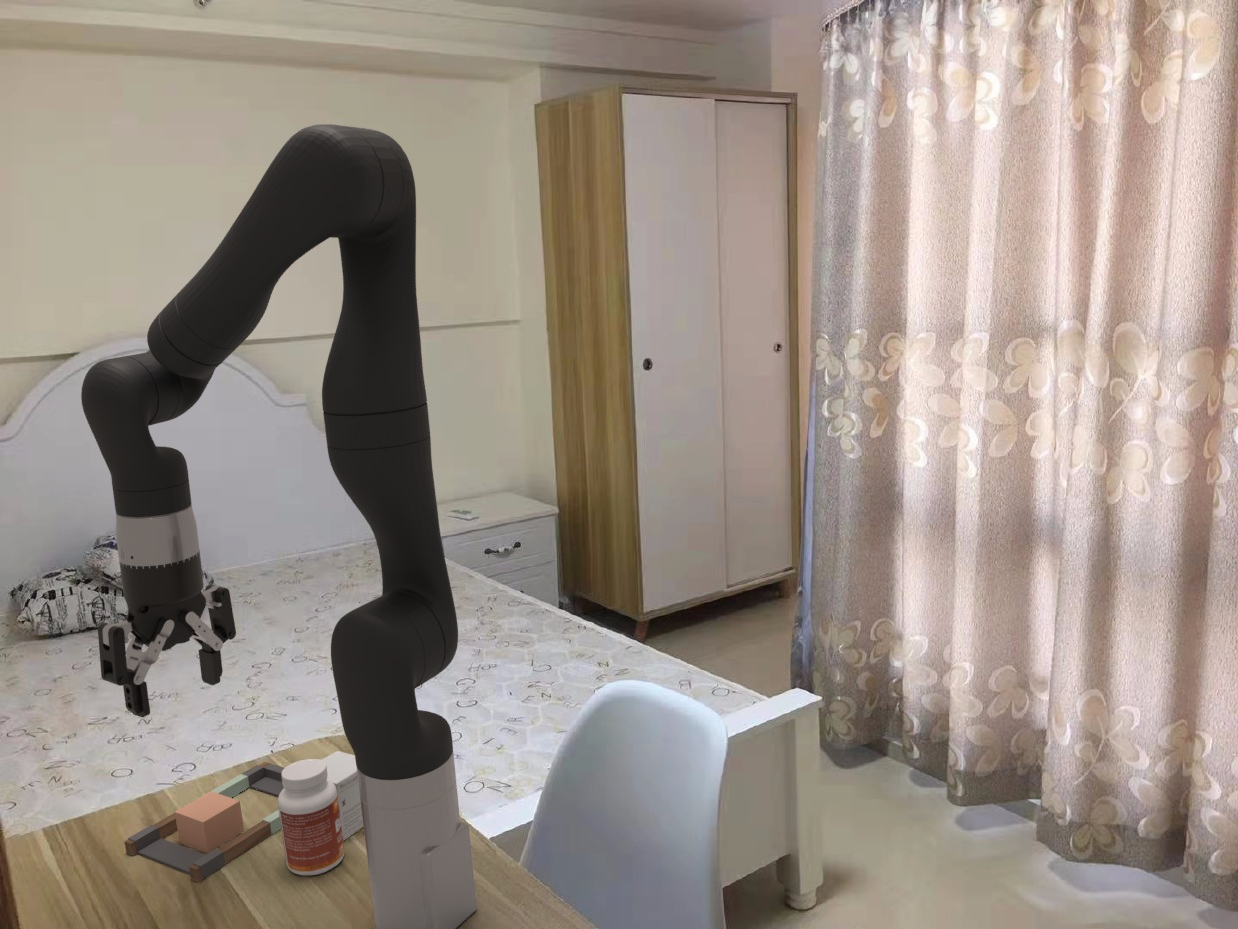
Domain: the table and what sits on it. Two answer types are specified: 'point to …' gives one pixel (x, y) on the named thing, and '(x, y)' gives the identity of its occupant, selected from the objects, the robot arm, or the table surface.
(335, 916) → the table surface
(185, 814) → the terracotta block
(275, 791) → the frame
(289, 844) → the pill bottle
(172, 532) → the robot arm
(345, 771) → the product box
